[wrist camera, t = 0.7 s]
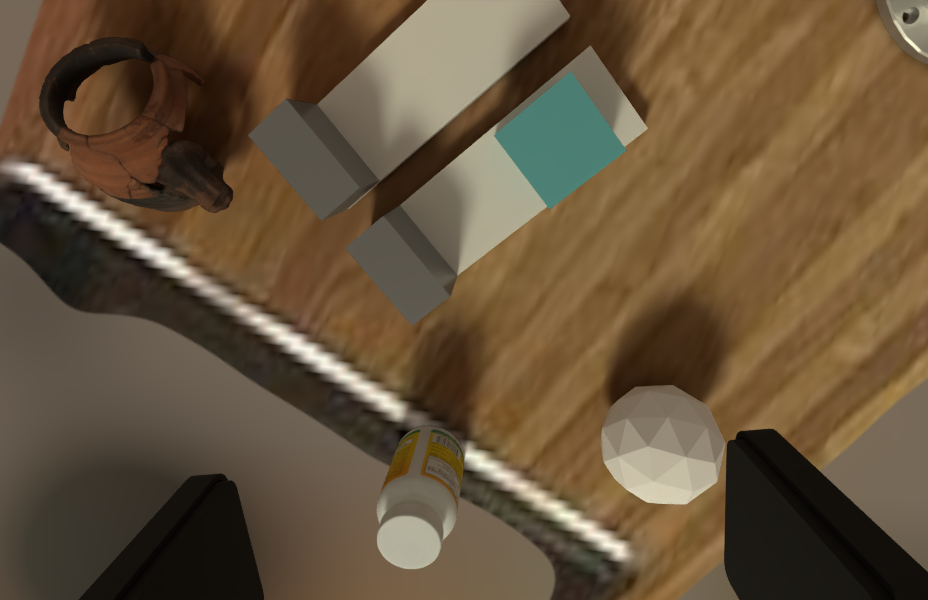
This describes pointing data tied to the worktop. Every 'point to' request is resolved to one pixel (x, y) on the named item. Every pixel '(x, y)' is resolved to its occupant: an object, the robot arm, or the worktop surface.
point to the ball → (662, 444)
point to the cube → (560, 141)
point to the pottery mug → (137, 134)
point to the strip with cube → (471, 205)
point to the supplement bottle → (420, 497)
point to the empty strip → (400, 96)
